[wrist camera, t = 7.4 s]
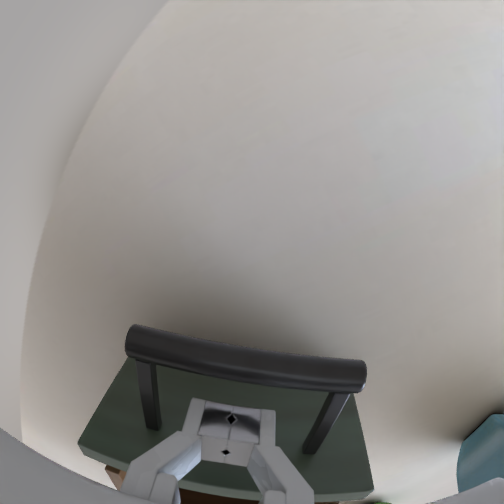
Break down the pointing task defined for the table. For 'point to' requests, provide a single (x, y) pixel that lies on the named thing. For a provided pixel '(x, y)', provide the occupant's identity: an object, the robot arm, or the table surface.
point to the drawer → (241, 394)
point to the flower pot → (482, 454)
